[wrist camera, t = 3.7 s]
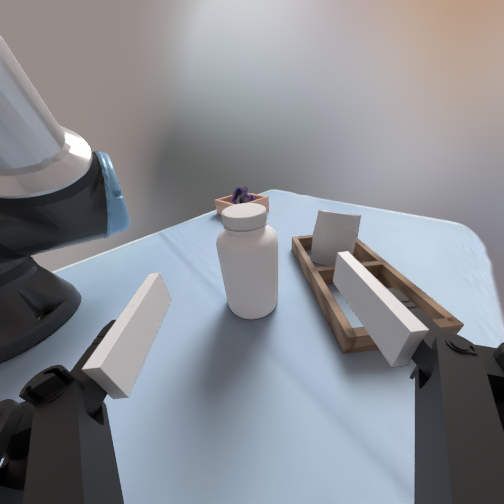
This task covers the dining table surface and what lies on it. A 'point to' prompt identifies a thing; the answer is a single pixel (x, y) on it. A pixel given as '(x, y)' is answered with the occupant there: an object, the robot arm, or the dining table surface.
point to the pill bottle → (248, 260)
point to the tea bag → (333, 236)
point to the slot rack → (380, 270)
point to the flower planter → (226, 202)
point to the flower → (241, 196)
